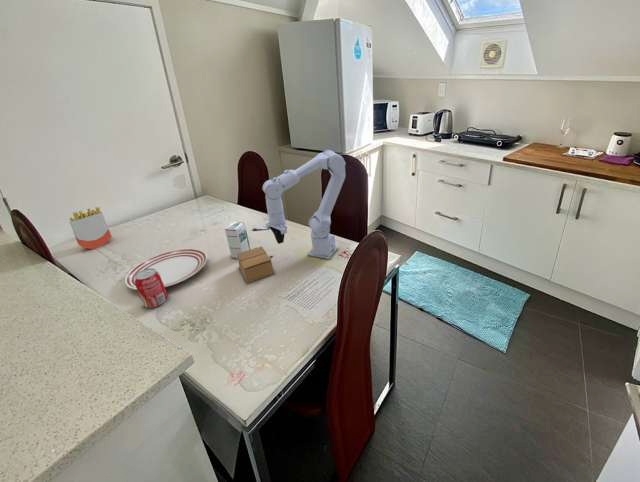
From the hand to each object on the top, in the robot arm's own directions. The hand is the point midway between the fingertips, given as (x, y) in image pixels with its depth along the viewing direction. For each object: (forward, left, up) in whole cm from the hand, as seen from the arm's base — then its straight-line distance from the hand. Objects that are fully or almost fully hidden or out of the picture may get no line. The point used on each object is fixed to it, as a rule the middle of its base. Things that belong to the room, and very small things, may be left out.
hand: (280, 242), depth 123 cm
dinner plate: (+39, +19, -10) cm, 44 cm away
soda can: (+29, +33, -10) cm, 45 cm away
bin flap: (+5, +9, -4) cm, 11 cm away
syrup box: (+21, 0, -10) cm, 23 cm away
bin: (+8, +8, -10) cm, 15 cm away
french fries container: (+90, +13, -10) cm, 91 cm away
